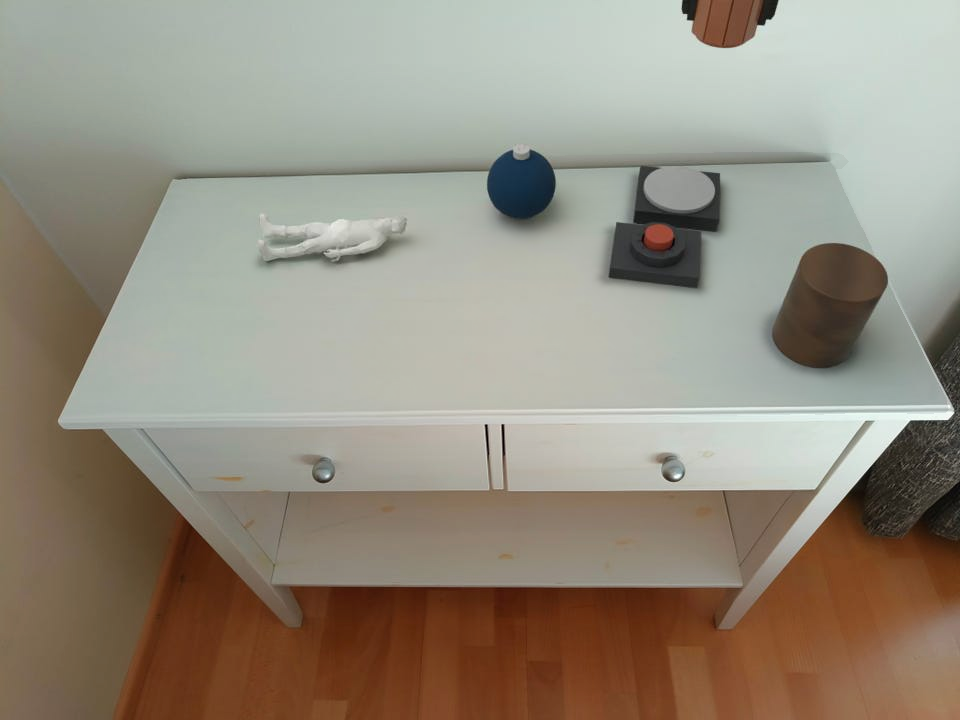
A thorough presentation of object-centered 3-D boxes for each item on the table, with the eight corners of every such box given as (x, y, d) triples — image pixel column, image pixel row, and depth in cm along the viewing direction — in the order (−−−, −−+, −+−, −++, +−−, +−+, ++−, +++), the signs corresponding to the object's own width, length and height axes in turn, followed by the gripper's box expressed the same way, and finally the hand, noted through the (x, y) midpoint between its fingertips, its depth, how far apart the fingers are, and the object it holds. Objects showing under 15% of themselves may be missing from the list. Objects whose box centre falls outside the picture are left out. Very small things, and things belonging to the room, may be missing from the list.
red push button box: (698, 241, 88) (703, 221, 86) (696, 288, 83) (702, 269, 81) (615, 231, 90) (617, 212, 87) (608, 277, 85) (611, 258, 83)
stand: (847, 315, 80) (882, 247, 72) (854, 373, 75) (893, 306, 67) (770, 306, 81) (797, 238, 73) (773, 362, 76) (802, 295, 68)
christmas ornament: (531, 182, 96) (532, 114, 89) (567, 217, 92) (572, 149, 84) (476, 204, 94) (472, 137, 86) (510, 242, 89) (509, 174, 82)
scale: (716, 185, 95) (721, 168, 92) (716, 231, 89) (720, 215, 87) (638, 178, 96) (641, 161, 94) (632, 222, 91) (635, 206, 89)
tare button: (672, 234, 85) (674, 225, 84) (671, 253, 83) (673, 244, 82) (644, 231, 86) (646, 222, 85) (642, 250, 84) (644, 241, 83)
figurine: (259, 211, 89) (405, 189, 89) (270, 234, 93) (411, 213, 92) (255, 254, 85) (408, 231, 85) (267, 277, 89) (414, 255, 88)
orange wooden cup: (752, 21, 75) (768, -40, 71) (753, 53, 71) (770, -10, 67) (691, 17, 76) (703, -44, 71) (689, 48, 72) (701, -14, 68)
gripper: (679, -172, 58) (649, 33, 71) (871, -167, 56) (803, 44, 69) (683, -201, 63) (653, -3, 76) (860, -197, 61) (798, 6, 74)
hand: (725, 18), depth 73 cm, fingers closed on orange wooden cup, 6 cm apart
